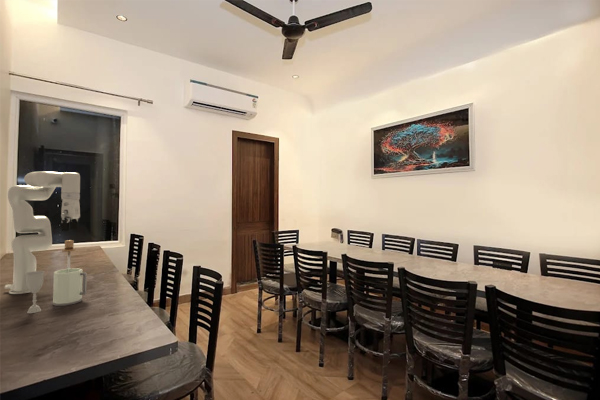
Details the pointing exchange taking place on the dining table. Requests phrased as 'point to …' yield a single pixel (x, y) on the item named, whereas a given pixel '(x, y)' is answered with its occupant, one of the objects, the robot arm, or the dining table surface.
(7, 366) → the dining table surface
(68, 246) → the plunger
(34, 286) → the chalice
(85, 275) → the press carafe
